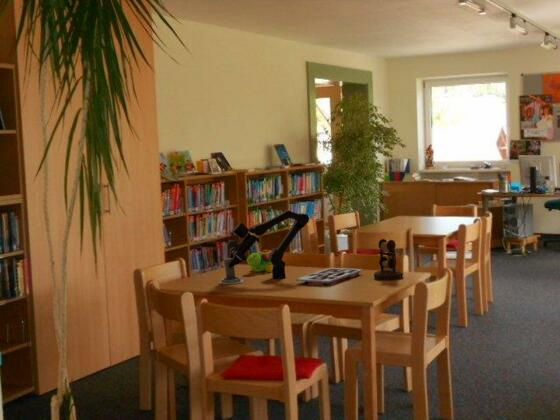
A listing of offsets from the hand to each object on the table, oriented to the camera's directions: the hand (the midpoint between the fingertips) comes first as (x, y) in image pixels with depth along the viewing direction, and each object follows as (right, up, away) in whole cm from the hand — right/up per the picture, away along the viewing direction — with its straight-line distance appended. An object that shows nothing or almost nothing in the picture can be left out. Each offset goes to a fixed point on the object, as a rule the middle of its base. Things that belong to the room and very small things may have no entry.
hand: (227, 266), depth 419 cm
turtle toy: (+19, -5, +33) cm, 38 cm away
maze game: (+54, -7, -8) cm, 55 cm away
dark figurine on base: (+84, -5, -14) cm, 85 cm away
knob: (+2, -8, +1) cm, 8 cm away
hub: (+2, -9, +1) cm, 9 cm away
